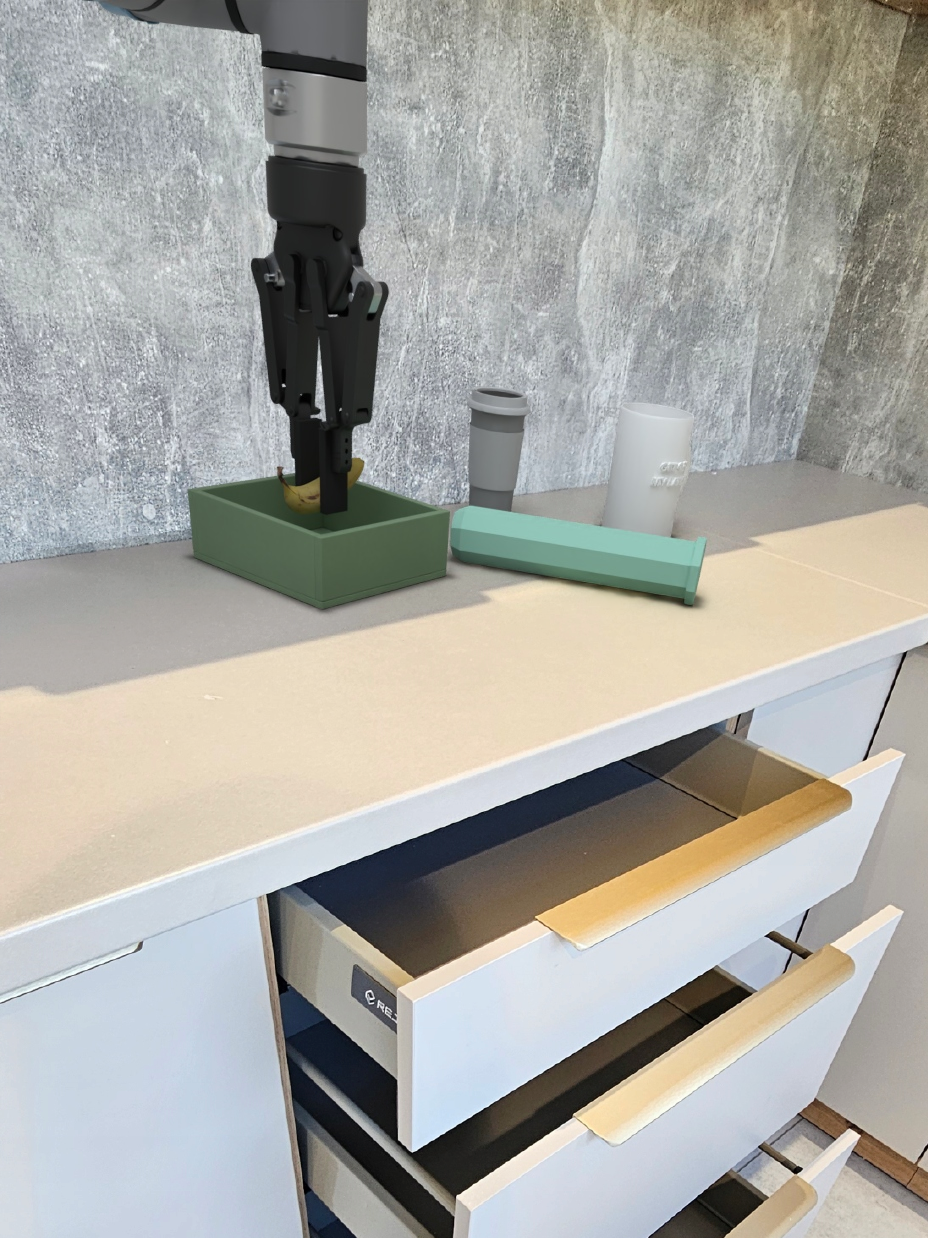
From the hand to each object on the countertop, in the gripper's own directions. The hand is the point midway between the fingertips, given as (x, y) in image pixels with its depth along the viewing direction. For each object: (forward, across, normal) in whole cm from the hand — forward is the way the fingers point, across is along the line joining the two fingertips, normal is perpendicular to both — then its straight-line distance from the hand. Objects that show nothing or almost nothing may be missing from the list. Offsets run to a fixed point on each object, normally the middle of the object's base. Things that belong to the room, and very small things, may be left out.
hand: (321, 507), depth 91 cm
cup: (+5, -2, +28) cm, 29 cm away
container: (+5, +16, +19) cm, 25 cm away
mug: (+5, +11, +41) cm, 43 cm away
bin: (+5, 0, 0) cm, 5 cm away
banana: (+1, 0, 0) cm, 1 cm away
